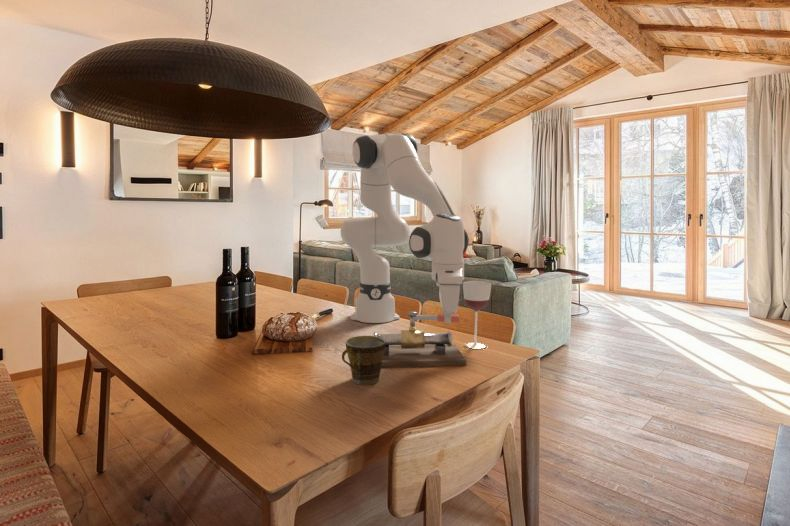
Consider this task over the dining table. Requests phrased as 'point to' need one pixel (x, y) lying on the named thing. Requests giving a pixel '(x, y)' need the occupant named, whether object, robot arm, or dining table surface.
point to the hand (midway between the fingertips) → (447, 322)
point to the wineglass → (476, 302)
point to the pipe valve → (417, 340)
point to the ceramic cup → (365, 358)
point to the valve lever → (430, 317)
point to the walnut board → (423, 357)
